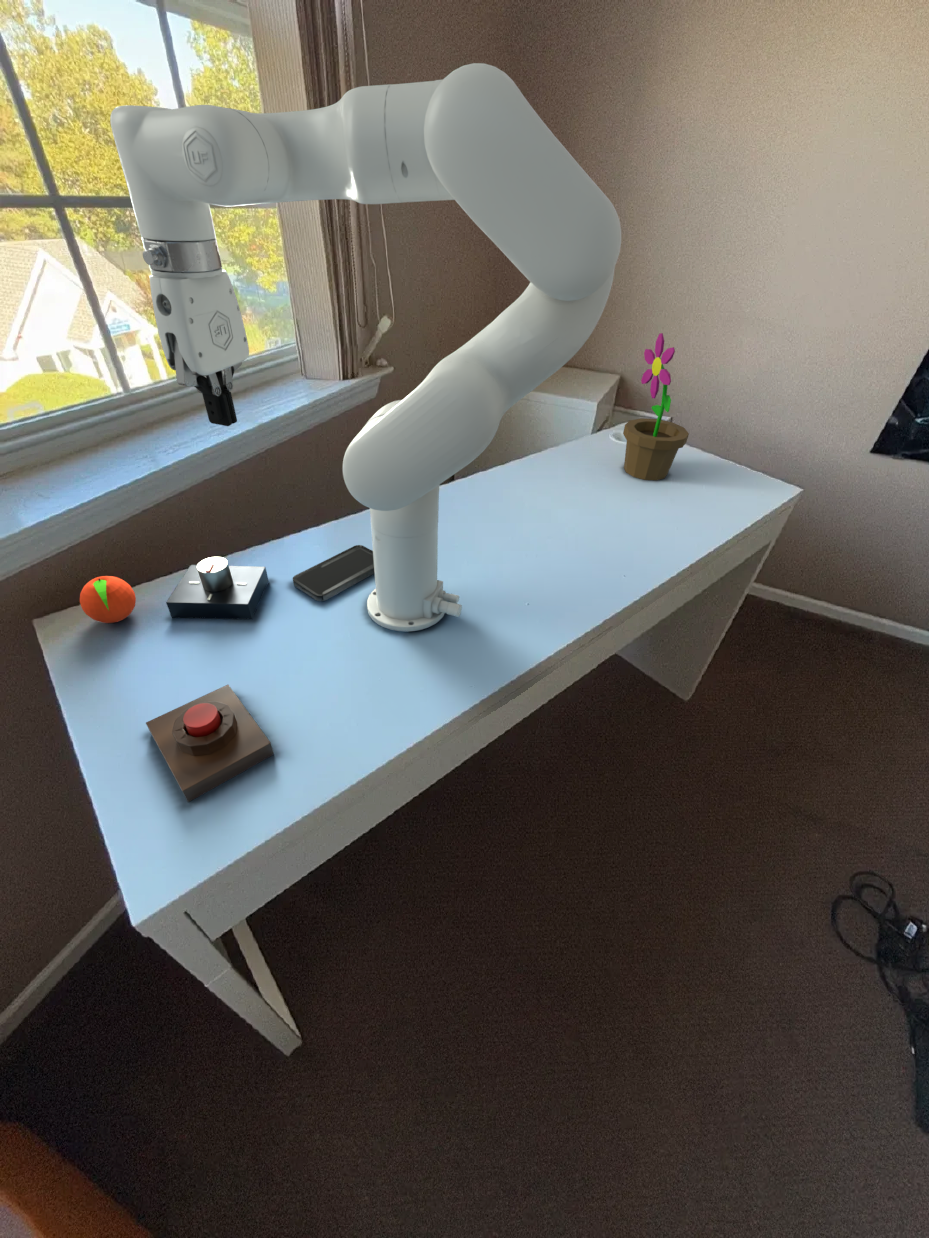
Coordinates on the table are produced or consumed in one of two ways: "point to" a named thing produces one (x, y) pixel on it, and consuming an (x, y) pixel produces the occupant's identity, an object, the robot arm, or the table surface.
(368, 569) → the phone
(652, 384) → the flowerpot
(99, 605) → the clementine
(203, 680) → the table surface
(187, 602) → the panel
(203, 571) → the hob knob
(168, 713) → the button block
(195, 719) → the button
